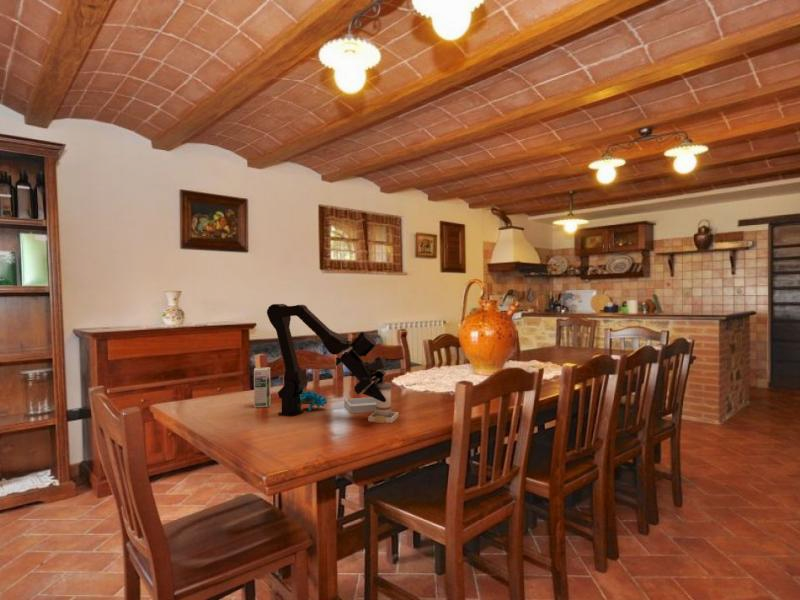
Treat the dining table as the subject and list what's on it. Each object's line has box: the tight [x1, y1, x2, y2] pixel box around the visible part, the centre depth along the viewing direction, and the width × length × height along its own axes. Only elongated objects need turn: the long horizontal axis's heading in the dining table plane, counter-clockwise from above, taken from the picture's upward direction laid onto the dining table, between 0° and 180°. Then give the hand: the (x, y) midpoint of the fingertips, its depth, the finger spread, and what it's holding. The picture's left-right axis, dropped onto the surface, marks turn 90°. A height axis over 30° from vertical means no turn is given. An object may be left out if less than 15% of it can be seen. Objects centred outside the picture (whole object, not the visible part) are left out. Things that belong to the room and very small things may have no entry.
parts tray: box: [343, 396, 376, 414], centre depth 174 cm, size 13×13×2 cm
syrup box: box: [253, 366, 271, 409], centre depth 179 cm, size 6×6×14 cm
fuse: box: [376, 381, 393, 418], centre depth 158 cm, size 5×5×12 cm
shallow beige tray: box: [367, 409, 399, 424], centre depth 158 cm, size 8×10×2 cm
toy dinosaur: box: [300, 390, 328, 412], centre depth 171 cm, size 11×6×10 cm
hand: (387, 399), depth 158 cm, fingers closed on fuse, 5 cm apart
